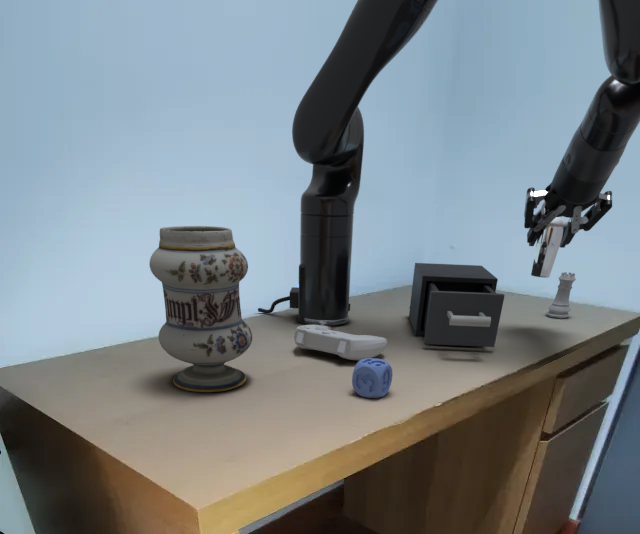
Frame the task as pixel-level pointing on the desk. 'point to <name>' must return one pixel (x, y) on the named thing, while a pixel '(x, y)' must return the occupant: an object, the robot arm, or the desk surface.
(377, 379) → the decorative dice
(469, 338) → the drawer
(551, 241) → the milkshake
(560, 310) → the rook chess piece
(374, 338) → the game controller
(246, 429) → the desk surface
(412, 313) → the small filing cabinet
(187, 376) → the apothecary jar
